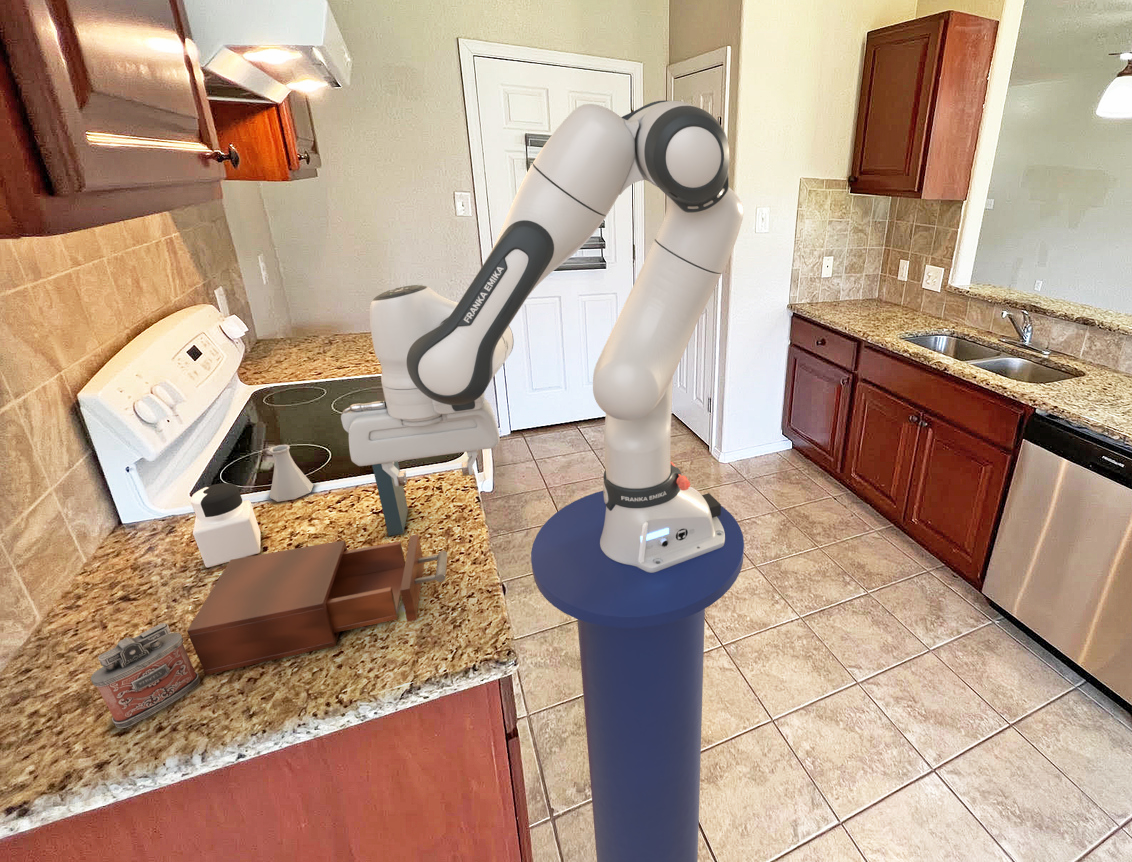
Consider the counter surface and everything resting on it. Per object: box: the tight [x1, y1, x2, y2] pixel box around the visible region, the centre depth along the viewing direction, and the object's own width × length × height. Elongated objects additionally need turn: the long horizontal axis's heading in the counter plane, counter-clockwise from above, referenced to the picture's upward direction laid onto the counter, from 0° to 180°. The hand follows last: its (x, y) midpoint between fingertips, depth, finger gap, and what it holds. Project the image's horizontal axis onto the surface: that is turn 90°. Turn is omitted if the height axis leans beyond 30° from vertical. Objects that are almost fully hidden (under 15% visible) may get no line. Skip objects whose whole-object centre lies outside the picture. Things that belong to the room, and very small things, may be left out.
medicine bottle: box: [190, 482, 261, 568], centre depth 95 cm, size 7×7×12 cm
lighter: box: [90, 622, 201, 729], centre depth 69 cm, size 8×3×10 cm, turn 151°
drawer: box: [326, 534, 449, 633], centre depth 86 cm, size 18×13×6 cm
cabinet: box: [186, 539, 349, 676], centre depth 82 cm, size 15×15×8 cm
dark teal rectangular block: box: [371, 461, 409, 537], centre depth 103 cm, size 2×8×15 cm, turn 21°
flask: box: [268, 443, 314, 502], centre depth 112 cm, size 7×7×10 cm
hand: (435, 479), depth 89 cm, fingers open, 8 cm apart
